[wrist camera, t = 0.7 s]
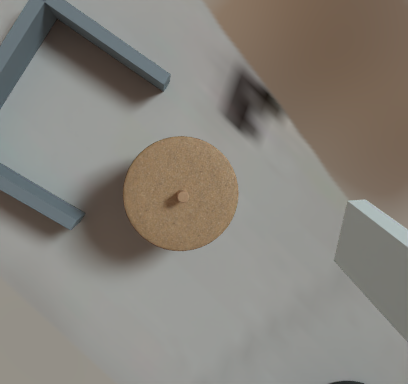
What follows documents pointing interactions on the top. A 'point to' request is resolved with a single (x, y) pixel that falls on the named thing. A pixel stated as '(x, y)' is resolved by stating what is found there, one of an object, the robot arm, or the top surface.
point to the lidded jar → (180, 193)
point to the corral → (18, 61)
